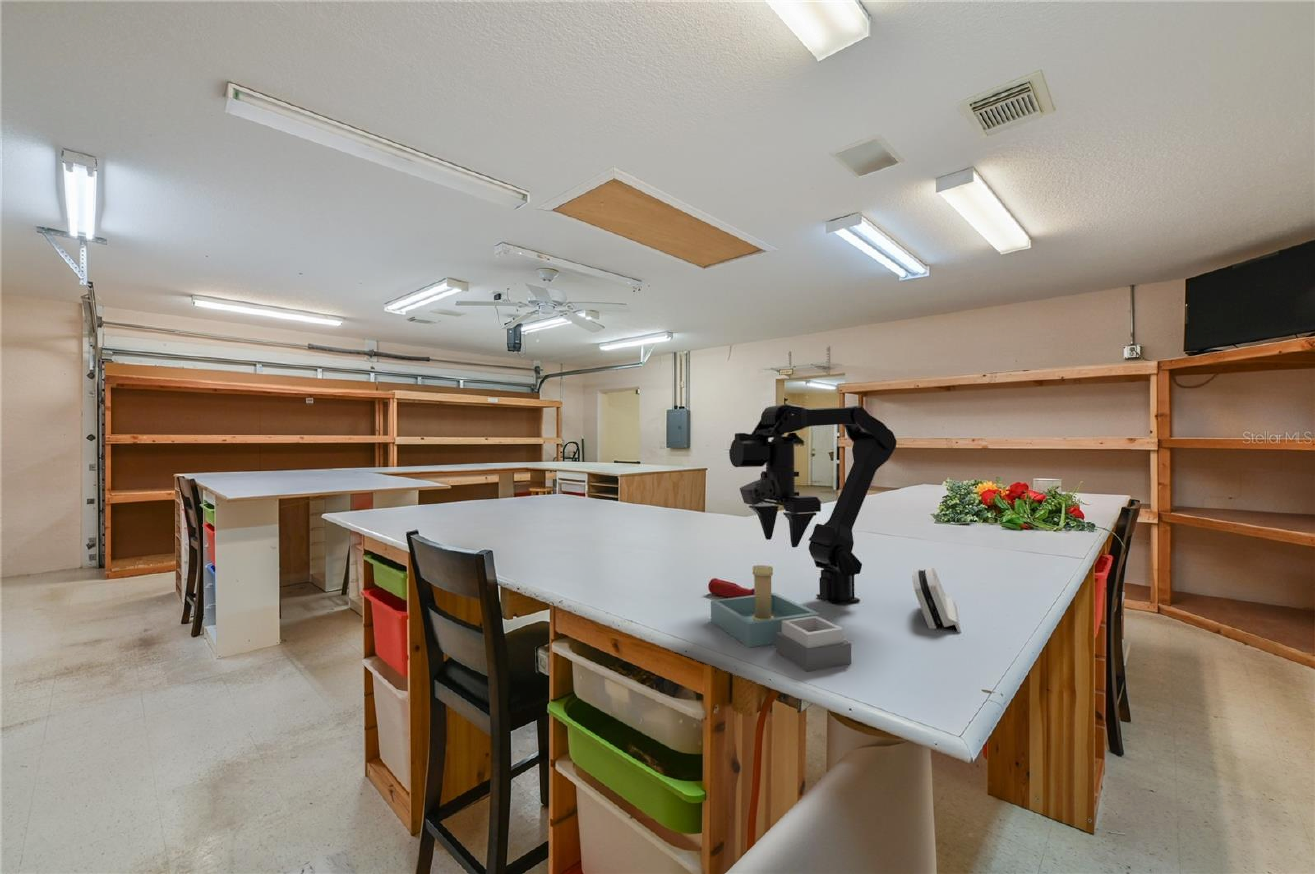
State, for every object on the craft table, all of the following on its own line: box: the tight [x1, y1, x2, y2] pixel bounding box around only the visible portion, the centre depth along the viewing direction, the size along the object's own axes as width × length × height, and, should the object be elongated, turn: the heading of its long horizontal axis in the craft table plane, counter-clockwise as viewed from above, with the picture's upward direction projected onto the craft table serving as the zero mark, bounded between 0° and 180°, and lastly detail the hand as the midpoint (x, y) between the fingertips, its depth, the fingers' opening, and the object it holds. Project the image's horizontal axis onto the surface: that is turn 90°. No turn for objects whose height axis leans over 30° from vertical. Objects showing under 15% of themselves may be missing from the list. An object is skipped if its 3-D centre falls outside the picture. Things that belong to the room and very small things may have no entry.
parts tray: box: [710, 592, 821, 648], centre depth 94 cm, size 14×14×4 cm
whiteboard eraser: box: [911, 567, 962, 633], centre depth 100 cm, size 17×5×10 cm, turn 153°
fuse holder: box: [775, 616, 852, 672], centre depth 81 cm, size 8×8×5 cm
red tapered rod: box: [707, 577, 755, 599], centre depth 107 cm, size 4×25×4 cm, turn 41°
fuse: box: [752, 564, 774, 621], centre depth 94 cm, size 4×4×10 cm
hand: (780, 543), depth 106 cm, fingers open, 9 cm apart
